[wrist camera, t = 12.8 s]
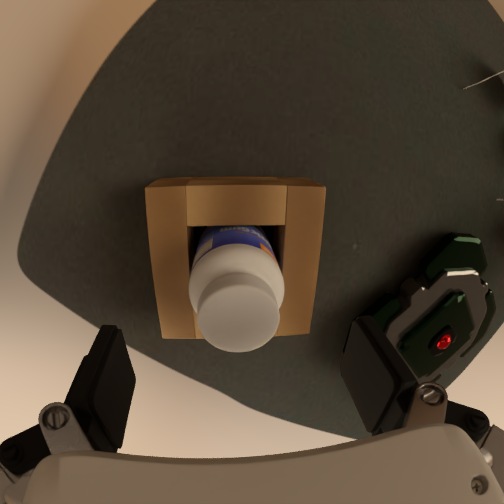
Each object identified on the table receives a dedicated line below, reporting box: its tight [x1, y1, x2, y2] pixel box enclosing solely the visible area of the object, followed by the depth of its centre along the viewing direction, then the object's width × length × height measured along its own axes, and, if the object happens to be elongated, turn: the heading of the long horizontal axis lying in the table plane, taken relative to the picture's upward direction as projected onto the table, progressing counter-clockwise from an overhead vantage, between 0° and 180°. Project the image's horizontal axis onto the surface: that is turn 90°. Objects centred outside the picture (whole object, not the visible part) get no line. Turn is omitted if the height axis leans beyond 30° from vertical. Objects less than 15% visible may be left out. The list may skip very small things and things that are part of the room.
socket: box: [145, 176, 326, 339], centre depth 21 cm, size 11×11×4 cm
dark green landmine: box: [343, 232, 496, 384], centre depth 26 cm, size 18×18×5 cm
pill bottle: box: [189, 225, 284, 352], centre depth 18 cm, size 5×5×10 cm
